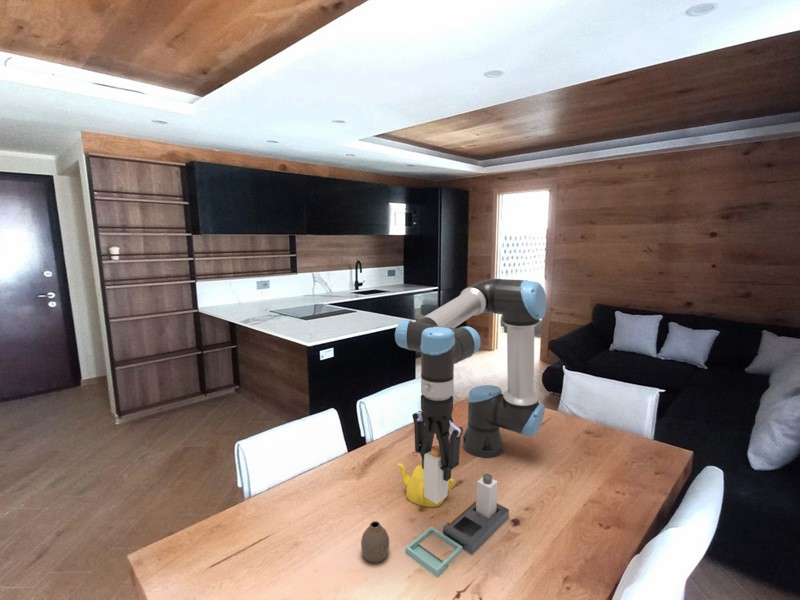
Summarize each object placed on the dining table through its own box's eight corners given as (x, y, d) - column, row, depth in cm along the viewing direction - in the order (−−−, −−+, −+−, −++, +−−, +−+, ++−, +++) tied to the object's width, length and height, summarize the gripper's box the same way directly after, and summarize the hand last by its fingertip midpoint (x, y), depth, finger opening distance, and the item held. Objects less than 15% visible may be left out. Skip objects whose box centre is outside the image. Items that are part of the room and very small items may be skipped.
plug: (424, 496, 95) (424, 448, 93) (434, 488, 97) (435, 442, 95) (437, 504, 92) (437, 455, 90) (447, 496, 95) (448, 448, 93)
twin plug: (475, 518, 108) (477, 476, 106) (483, 510, 111) (485, 470, 109) (488, 525, 105) (490, 482, 103) (496, 517, 108) (497, 476, 106)
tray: (405, 554, 97) (405, 547, 96) (431, 533, 104) (431, 526, 103) (437, 578, 90) (437, 571, 89) (462, 554, 97) (462, 546, 97)
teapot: (435, 479, 127) (435, 451, 125) (457, 505, 115) (458, 474, 113) (396, 490, 121) (396, 461, 120) (415, 518, 109) (416, 486, 108)
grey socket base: (442, 539, 102) (443, 525, 101) (480, 505, 115) (481, 493, 114) (472, 558, 96) (472, 544, 95) (508, 521, 108) (509, 508, 108)
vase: (361, 546, 99) (360, 515, 98) (388, 544, 100) (388, 513, 98) (361, 568, 92) (360, 535, 91) (390, 566, 93) (390, 534, 92)
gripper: (399, 389, 94) (399, 478, 97) (457, 410, 82) (455, 511, 86) (419, 380, 99) (419, 465, 103) (477, 400, 87) (474, 494, 91)
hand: (435, 486), depth 94 cm, fingers closed on plug, 4 cm apart
